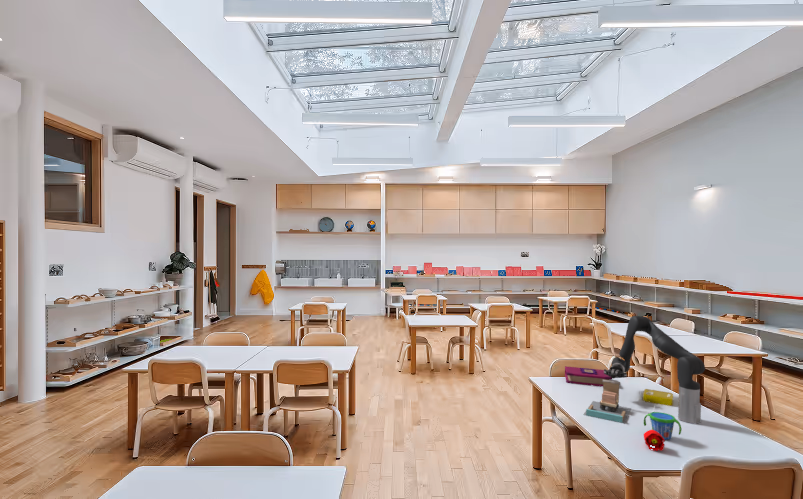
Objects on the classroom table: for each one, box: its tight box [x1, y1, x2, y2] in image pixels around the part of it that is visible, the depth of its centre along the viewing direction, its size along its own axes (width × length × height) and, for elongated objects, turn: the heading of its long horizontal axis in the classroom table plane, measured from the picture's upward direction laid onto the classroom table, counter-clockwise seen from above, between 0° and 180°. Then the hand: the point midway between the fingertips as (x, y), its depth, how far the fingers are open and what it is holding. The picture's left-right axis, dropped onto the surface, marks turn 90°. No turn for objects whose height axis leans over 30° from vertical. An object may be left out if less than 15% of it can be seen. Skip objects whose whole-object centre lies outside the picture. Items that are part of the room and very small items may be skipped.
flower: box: [643, 429, 666, 452], centre depth 200 cm, size 8×8×8 cm
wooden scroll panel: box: [599, 380, 621, 412], centre depth 248 cm, size 11×9×14 cm
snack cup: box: [643, 411, 683, 440], centre depth 212 cm, size 16×10×10 cm
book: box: [564, 366, 613, 387], centre depth 304 cm, size 21×28×8 cm
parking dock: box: [583, 400, 632, 425], centre depth 243 cm, size 28×20×4 cm
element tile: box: [642, 388, 674, 407], centre depth 267 cm, size 15×15×5 cm
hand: (612, 376), depth 258 cm, fingers closed
